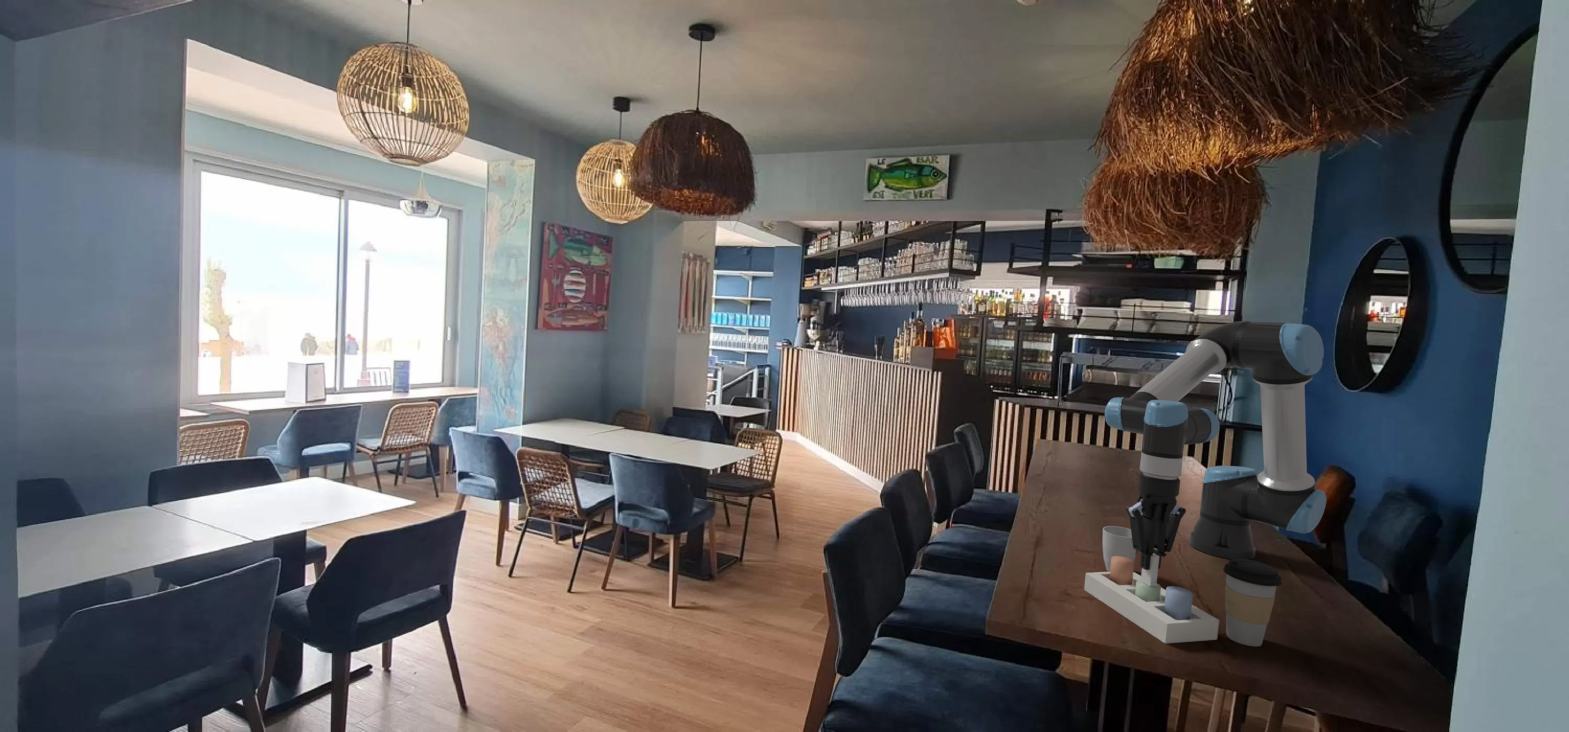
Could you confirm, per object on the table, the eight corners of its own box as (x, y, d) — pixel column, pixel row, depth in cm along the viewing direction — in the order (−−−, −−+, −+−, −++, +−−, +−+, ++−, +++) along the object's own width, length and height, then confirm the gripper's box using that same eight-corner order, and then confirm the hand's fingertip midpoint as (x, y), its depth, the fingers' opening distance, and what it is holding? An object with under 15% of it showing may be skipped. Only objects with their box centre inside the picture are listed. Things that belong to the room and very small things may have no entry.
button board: (1129, 587, 154) (1131, 570, 153) (1217, 639, 130) (1219, 619, 130) (1084, 589, 151) (1085, 572, 151) (1165, 643, 128) (1167, 623, 127)
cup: (1140, 579, 158) (1144, 539, 158) (1104, 575, 160) (1107, 535, 159) (1130, 566, 166) (1133, 527, 165) (1095, 562, 168) (1099, 524, 167)
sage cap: (1147, 601, 143) (1149, 579, 143) (1163, 611, 139) (1166, 588, 138) (1129, 602, 142) (1131, 580, 142) (1145, 612, 138) (1147, 589, 137)
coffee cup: (1205, 627, 135) (1213, 556, 134) (1248, 627, 136) (1256, 557, 135) (1240, 651, 126) (1249, 575, 124) (1286, 651, 127) (1295, 576, 125)
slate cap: (1177, 609, 135) (1180, 585, 135) (1195, 619, 131) (1198, 595, 130) (1158, 610, 134) (1160, 586, 134) (1176, 621, 130) (1178, 596, 129)
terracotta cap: (1122, 576, 151) (1124, 555, 150) (1137, 585, 146) (1139, 563, 146) (1104, 577, 150) (1106, 556, 149) (1119, 586, 145) (1121, 564, 145)
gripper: (1172, 469, 143) (1161, 574, 145) (1119, 470, 140) (1109, 577, 142) (1200, 479, 136) (1188, 589, 138) (1146, 479, 133) (1134, 592, 135)
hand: (1148, 583), depth 140 cm, fingers closed
